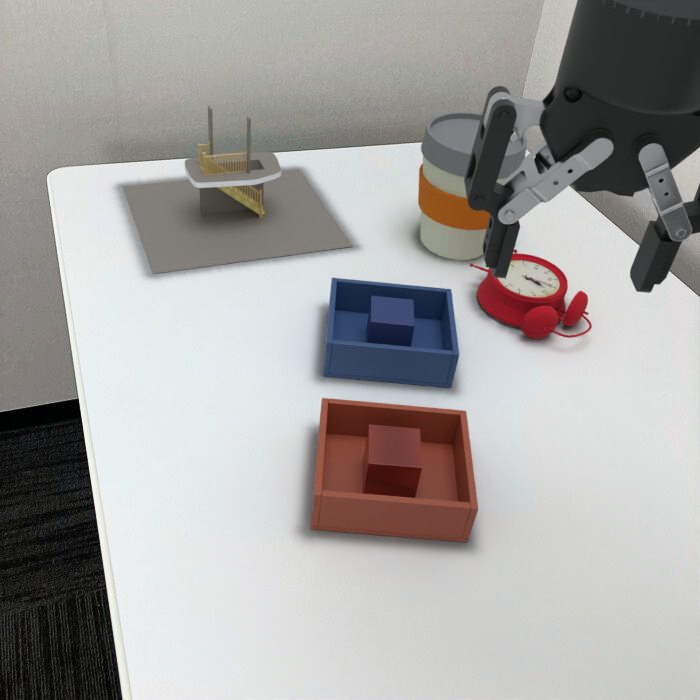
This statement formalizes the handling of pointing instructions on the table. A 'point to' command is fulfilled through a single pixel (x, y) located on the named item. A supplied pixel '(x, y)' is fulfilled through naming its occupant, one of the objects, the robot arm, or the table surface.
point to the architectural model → (230, 212)
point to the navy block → (390, 321)
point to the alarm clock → (531, 297)
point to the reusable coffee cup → (455, 186)
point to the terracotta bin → (392, 511)
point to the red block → (392, 461)
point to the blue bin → (390, 360)
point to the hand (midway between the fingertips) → (568, 277)
